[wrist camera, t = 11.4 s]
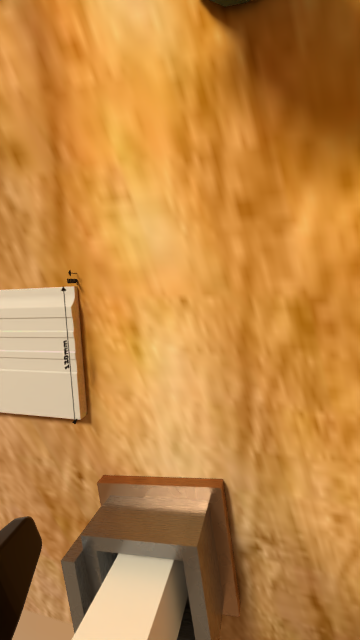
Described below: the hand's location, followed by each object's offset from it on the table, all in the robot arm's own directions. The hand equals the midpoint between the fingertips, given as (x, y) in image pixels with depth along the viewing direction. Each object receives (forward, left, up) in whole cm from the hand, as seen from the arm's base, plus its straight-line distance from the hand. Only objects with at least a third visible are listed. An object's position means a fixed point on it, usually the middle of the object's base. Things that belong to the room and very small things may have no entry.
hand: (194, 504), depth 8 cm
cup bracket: (0, +15, -14) cm, 21 cm away
